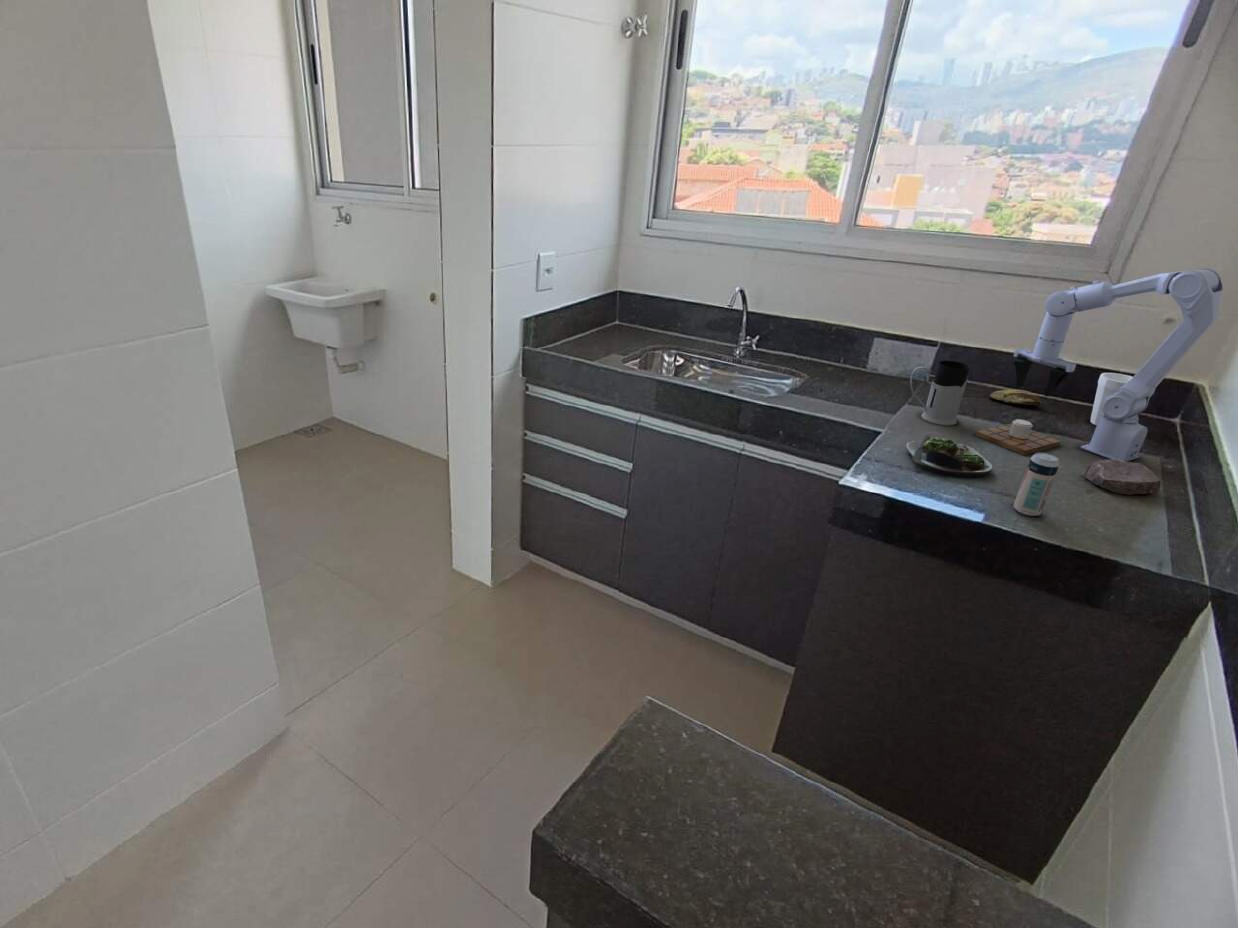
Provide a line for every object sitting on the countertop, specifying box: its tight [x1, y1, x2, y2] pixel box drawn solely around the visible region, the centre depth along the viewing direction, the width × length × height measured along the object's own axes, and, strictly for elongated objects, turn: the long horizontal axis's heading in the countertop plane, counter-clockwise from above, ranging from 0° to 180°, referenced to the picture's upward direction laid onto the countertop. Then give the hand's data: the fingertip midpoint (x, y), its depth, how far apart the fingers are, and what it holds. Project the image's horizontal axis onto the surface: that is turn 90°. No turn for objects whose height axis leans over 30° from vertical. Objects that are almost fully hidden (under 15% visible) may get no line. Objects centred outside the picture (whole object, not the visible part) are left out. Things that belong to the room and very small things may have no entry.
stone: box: [1084, 459, 1162, 495], centre depth 142 cm, size 9×12×5 cm
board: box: [976, 422, 1061, 456], centre depth 164 cm, size 13×15×1 cm
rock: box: [989, 389, 1042, 406], centre depth 190 cm, size 13×10×4 cm
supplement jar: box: [1013, 452, 1060, 517], centre depth 127 cm, size 5×5×12 cm
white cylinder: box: [1009, 418, 1034, 439], centre depth 163 cm, size 4×4×4 cm
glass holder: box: [909, 359, 971, 426], centre depth 172 cm, size 9×14×15 cm, turn 83°
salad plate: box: [906, 434, 994, 479], centre depth 150 cm, size 19×18×5 cm
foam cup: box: [1089, 372, 1134, 426], centre depth 175 cm, size 10×9×13 cm
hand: (1033, 390), depth 171 cm, fingers open, 7 cm apart
